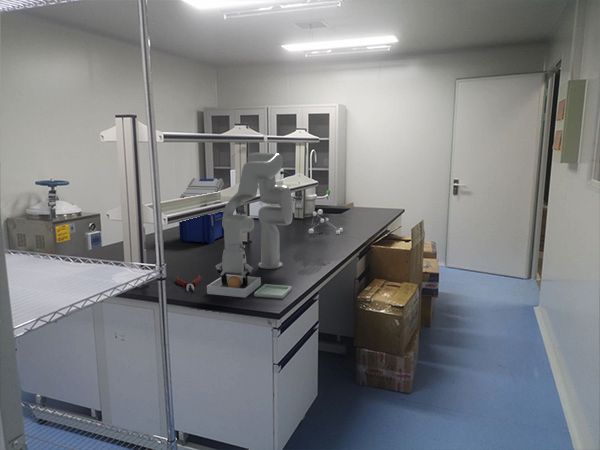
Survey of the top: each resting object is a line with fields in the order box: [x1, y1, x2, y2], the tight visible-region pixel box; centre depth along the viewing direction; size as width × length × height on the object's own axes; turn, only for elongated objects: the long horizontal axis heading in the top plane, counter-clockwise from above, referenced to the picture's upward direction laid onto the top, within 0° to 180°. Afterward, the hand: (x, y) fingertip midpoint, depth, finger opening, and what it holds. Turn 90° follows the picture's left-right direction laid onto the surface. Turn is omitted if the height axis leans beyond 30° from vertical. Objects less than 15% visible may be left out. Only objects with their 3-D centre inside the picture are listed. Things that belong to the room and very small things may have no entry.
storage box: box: [178, 177, 224, 245], centre depth 298 cm, size 29×23×40 cm
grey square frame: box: [206, 274, 262, 298], centre depth 198 cm, size 18×18×4 cm
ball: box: [227, 275, 242, 288], centre depth 197 cm, size 6×6×6 cm
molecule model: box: [308, 209, 344, 235], centre depth 320 cm, size 14×25×18 cm, turn 91°
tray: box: [253, 283, 293, 300], centre depth 193 cm, size 13×13×2 cm
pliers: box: [175, 274, 202, 292], centre depth 203 cm, size 12×20×3 cm, turn 17°
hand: (234, 284), depth 198 cm, fingers open, 9 cm apart
